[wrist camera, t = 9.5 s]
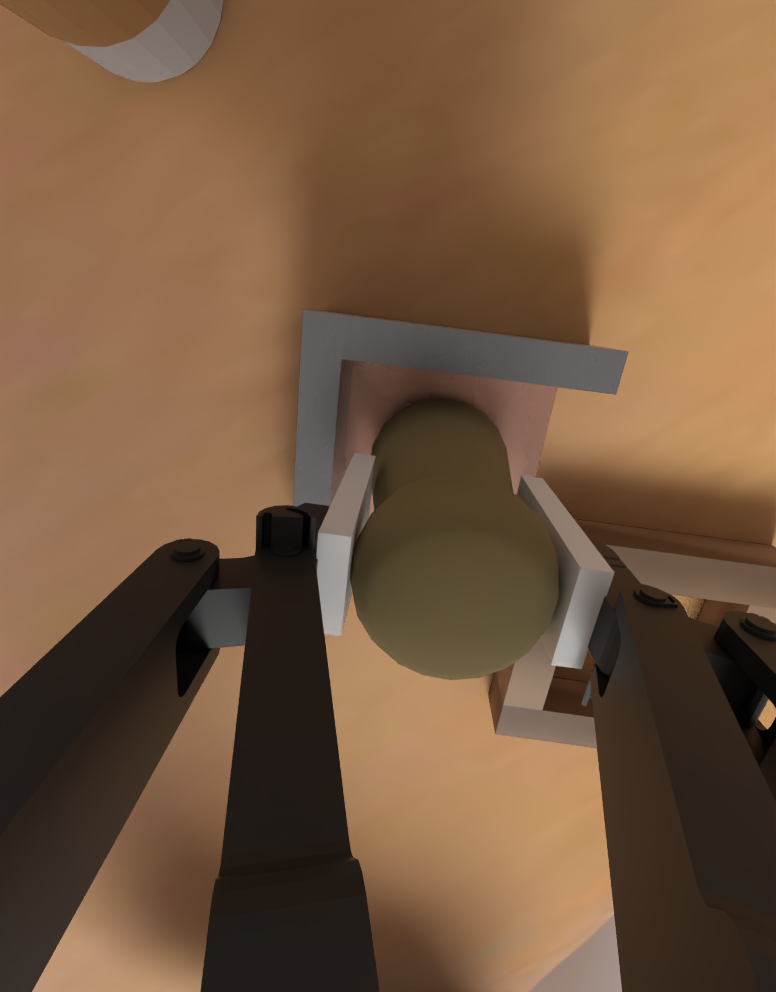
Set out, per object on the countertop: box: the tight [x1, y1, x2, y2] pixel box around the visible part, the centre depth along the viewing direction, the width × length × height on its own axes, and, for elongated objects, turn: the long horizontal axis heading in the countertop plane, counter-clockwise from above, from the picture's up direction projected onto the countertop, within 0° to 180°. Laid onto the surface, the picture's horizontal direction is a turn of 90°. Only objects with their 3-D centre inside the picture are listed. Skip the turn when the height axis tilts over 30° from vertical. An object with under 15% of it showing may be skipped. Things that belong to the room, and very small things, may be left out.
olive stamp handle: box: [350, 398, 559, 680], centre depth 16 cm, size 6×6×11 cm
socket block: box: [489, 519, 776, 748], centre depth 24 cm, size 12×12×3 cm
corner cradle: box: [293, 310, 628, 517], centre depth 21 cm, size 12×12×4 cm
